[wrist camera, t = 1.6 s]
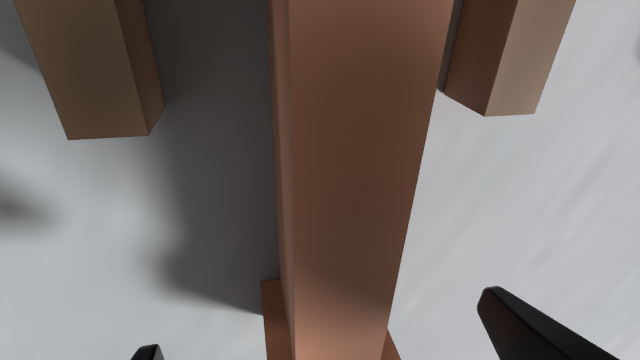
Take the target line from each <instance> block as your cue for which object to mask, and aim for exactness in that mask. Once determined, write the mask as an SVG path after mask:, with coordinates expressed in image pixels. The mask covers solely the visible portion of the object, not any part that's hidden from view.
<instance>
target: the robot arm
mask: <svg viewBox="0 0 640 360" xmlns="http://www.w3.org/2000/svg"><path fill="white" fill-rule="evenodd" d="M477 311H478V314H479V316H480V319H481V321H482V323H483V325H484V327H485V329H486V331H487V333H488V335H489V338H490V340H491V342H492V344H493V346H494V348H495V350H496V352H497V354H498V356H499V358H500V360H619V359H618V358H616V357H614V356H613V355H611V354H609V353H608V352H606V351H604V350H603V349H601V348H600V347H598V346H596V345H595V344H593V343H591V342H590V341H588V340H587V339H585V338H583V337H582V336H580V335H578V334H577V333H575V332H573V331H572V330H570V329H569V328H567V327H565V326H564V325H562V324H560V323H559V322H557V321H555V320H554V319H552V318H551V317H549V316H547V315H546V314H544V313H542V312H541V311H539V310H538V309H536V308H534V307H533V306H531V305H529V304H528V303H526V302H524V301H523V300H521V299H520V298H518V297H516V296H515V295H513V294H511V293H510V292H508V291H506V290H505V289H503V288H501V287H499V286H493V287H487V288H485V289H484V290H483V292H482V295H481V297H480V300H479V302H478V305H477ZM131 360H164V357H163V354H162V352H161V349H160V346H159V345H158V344H152V345H146V346H142V347H140V348H139V349H138V350H137V351H136V352H135V354H134V355H133V357H132V358H131Z"/></svg>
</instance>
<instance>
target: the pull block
mask: <svg viewBox="0 0 640 360" xmlns="http://www.w3.org/2000/svg"><path fill="white" fill-rule="evenodd" d="M453 4H454V0H267V19H268V39H269V59H270V80H271V100H272V120H273V141H274V161H275V181H276V201H277V222H278V242H279V262H280V279H276V280H269V281H262V282H261V293H262V305H263V317H264V329H265V341H266V353H267V360H401V359H400V356H399V354H398V352H397V349H396V347H395V345H394V343H393V340H392V338H391V336H390V333H389V331H388V329H387V326H388V321H389V316H390V311H391V306H392V302H393V297H394V292H395V287H396V282H397V277H398V272H399V267H400V263H401V258H402V253H403V248H404V243H405V238H406V233H407V228H408V224H409V219H410V214H411V209H412V204H413V199H414V194H415V189H416V184H417V180H418V175H419V170H420V165H421V160H422V155H423V150H424V145H425V141H426V136H427V131H428V126H429V121H430V116H431V111H432V106H433V102H434V97H435V92H436V87H437V82H438V77H439V72H440V67H441V63H442V58H443V53H444V48H445V43H446V38H447V33H448V28H449V23H450V19H451V14H452V9H453Z"/></svg>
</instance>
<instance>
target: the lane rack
mask: <svg viewBox="0 0 640 360" xmlns="http://www.w3.org/2000/svg"><path fill="white" fill-rule="evenodd" d="M13 1H14V4H15V6H16V9H17V11H18V14H19V16H20V19H21V22H22V24H23V27H24V29H25V32H26V34H27V37H28V39H29V42H30V44H31V47H32V50H33V52H34V55H35V57H36V60H37V62H38V65H39V67H40V70H41V72H42V75H43V78H44V80H45V83H46V85H47V88H48V90H49V93H50V95H51V98H52V100H53V103H54V106H55V108H56V111H57V113H58V116H59V118H60V121H61V123H62V126H63V129H64V131H65V134H66V136H67V139H68V140H79V139H97V138H114V137H132V136H149V134H150V132H151V130H152V128H153V127H154V125H155V123H156V121H157V119H158V118H159V116H160V114H161V112H162V110H163V109H164V107H165V101H164V97H163V92H162V88H161V83H160V78H159V74H158V69H157V65H156V60H155V55H154V51H153V46H152V42H151V37H150V32H149V28H148V23H147V19H146V14H145V9H144V5H143V0H13ZM575 2H576V0H464V3H463V8H462V12H461V17H460V21H459V26H458V31H457V35H456V40H455V44H454V49H453V53H452V58H451V63H450V67H449V72H448V76H447V81H446V86H445V90H444V95H446V96H448V97H450V98H452V99H453V100H455V101H457V102H459V103H461V104H462V105H464V106H466V107H468V108H470V109H471V110H473V111H475V112H477V113H479V114H480V115H482V116H484V117H487V116H505V115H523V114H534V113H535V110H536V107H537V105H538V102H539V99H540V97H541V94H542V91H543V89H544V86H545V83H546V80H547V78H548V75H549V72H550V70H551V67H552V64H553V61H554V59H555V56H556V53H557V51H558V48H559V45H560V43H561V40H562V37H563V34H564V32H565V29H566V26H567V24H568V21H569V18H570V16H571V13H572V10H573V7H574V5H575Z"/></svg>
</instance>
